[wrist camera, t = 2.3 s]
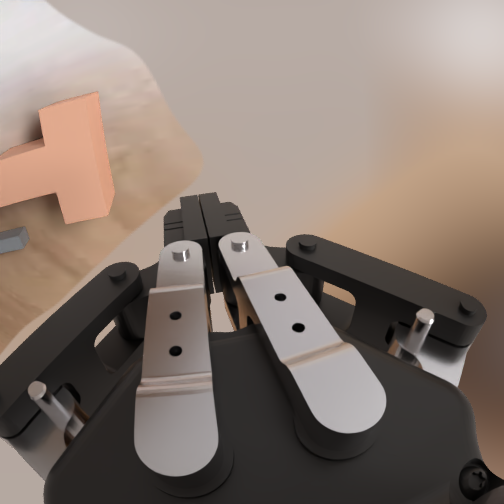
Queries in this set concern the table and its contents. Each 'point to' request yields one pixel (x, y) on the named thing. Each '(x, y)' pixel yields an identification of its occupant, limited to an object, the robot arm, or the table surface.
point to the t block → (63, 161)
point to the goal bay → (13, 239)
